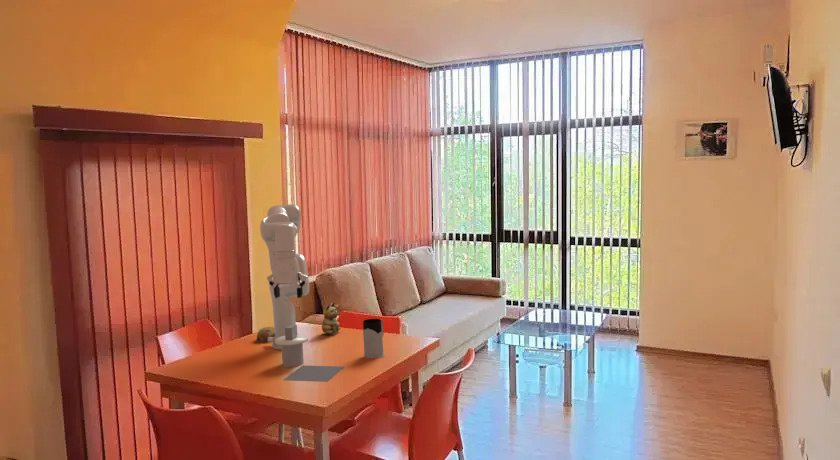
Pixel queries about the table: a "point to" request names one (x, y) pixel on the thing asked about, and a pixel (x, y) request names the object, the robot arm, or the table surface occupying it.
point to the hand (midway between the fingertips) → (288, 297)
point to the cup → (292, 355)
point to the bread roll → (265, 334)
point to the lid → (291, 337)
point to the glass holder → (373, 338)
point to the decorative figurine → (330, 320)
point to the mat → (314, 373)
